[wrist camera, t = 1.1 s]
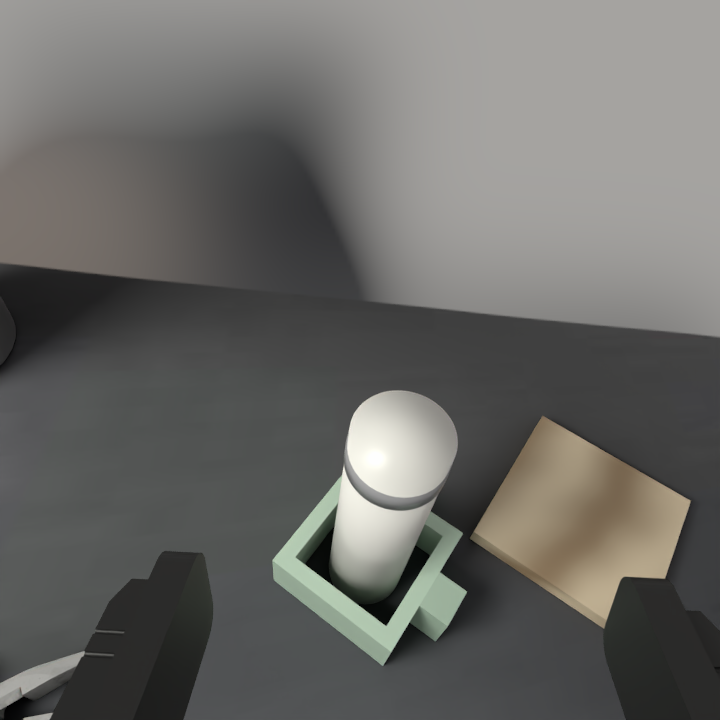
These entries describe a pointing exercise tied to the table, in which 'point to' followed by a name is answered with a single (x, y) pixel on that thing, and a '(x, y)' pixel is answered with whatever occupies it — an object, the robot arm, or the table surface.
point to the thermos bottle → (387, 490)
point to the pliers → (38, 682)
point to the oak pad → (580, 520)
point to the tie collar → (419, 607)
